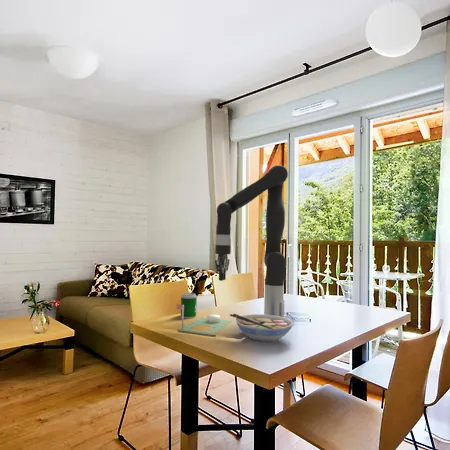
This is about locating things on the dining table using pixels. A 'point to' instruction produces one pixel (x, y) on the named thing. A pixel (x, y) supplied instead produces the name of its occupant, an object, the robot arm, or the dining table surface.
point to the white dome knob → (213, 318)
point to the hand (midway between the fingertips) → (222, 280)
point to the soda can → (189, 305)
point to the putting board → (202, 322)
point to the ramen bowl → (263, 326)
